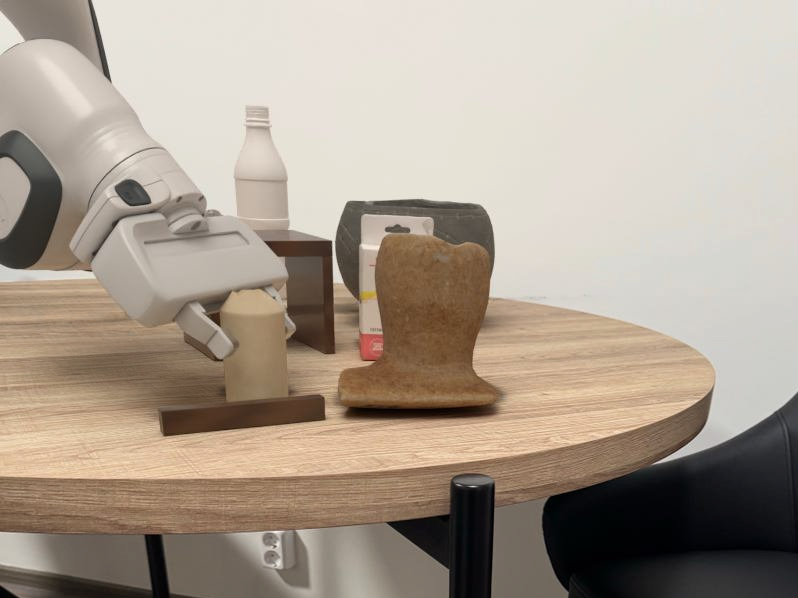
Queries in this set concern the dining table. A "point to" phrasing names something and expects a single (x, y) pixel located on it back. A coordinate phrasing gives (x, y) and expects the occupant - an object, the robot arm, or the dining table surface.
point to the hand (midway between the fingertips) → (261, 344)
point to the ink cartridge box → (368, 254)
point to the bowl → (449, 225)
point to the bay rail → (241, 414)
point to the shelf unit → (300, 288)
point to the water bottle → (261, 179)
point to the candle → (255, 346)
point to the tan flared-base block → (425, 327)
